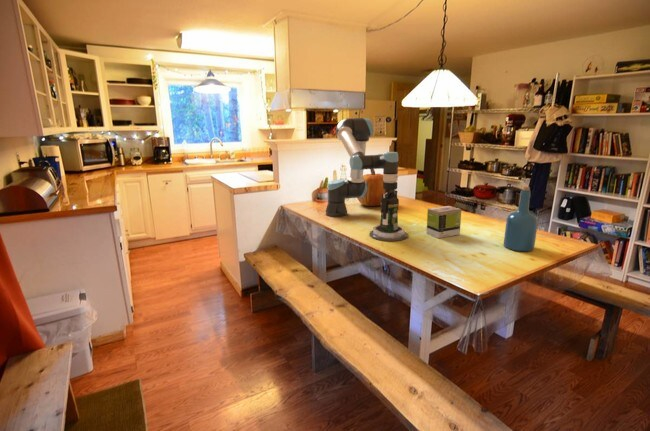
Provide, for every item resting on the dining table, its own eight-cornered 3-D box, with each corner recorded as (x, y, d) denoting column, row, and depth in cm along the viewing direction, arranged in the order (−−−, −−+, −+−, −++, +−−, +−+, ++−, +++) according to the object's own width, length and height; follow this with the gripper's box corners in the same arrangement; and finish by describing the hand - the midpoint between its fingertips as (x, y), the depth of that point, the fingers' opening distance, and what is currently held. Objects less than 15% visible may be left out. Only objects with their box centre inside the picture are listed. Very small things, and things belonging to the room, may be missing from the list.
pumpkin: (358, 209, 246) (358, 168, 238) (353, 202, 267) (353, 164, 260) (393, 208, 248) (394, 167, 240) (385, 201, 269) (386, 164, 262)
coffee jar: (377, 228, 187) (378, 195, 182) (387, 226, 191) (388, 194, 187) (389, 232, 179) (391, 198, 174) (400, 230, 183) (401, 196, 179)
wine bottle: (518, 254, 156) (526, 190, 148) (496, 244, 168) (503, 185, 161) (541, 250, 159) (551, 188, 152) (518, 241, 172) (526, 183, 164)
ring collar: (380, 227, 200) (380, 221, 199) (414, 233, 188) (414, 227, 187) (362, 236, 184) (362, 230, 183) (398, 244, 172) (398, 237, 171)
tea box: (447, 230, 193) (449, 205, 189) (460, 235, 184) (462, 208, 180) (425, 233, 188) (427, 207, 184) (437, 238, 179) (439, 211, 175)
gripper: (387, 185, 168) (386, 228, 174) (405, 179, 185) (403, 219, 190) (374, 183, 173) (373, 226, 178) (392, 178, 189) (391, 217, 195)
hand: (388, 222), depth 184 cm, fingers closed on coffee jar, 8 cm apart
